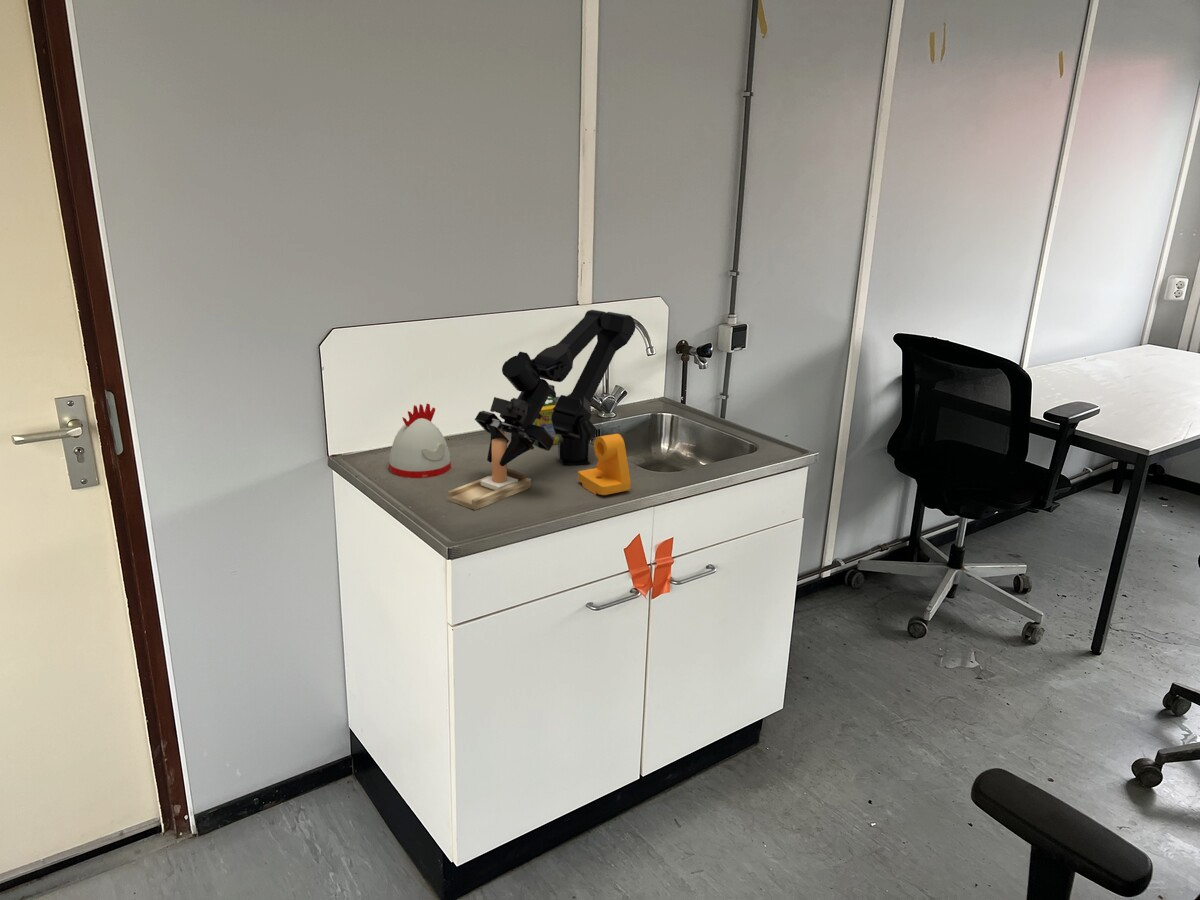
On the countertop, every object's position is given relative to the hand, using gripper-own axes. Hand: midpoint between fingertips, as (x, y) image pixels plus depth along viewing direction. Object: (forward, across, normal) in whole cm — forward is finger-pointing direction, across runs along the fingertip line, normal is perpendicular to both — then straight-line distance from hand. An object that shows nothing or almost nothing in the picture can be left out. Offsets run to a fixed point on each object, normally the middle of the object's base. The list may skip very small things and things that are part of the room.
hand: (494, 463), depth 188 cm
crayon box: (-18, -12, +28) cm, 35 cm away
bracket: (-8, +16, +17) cm, 25 cm away
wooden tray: (+6, 0, +4) cm, 7 cm away
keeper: (+3, 0, +5) cm, 5 cm away
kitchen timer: (+5, -23, +4) cm, 24 cm away
